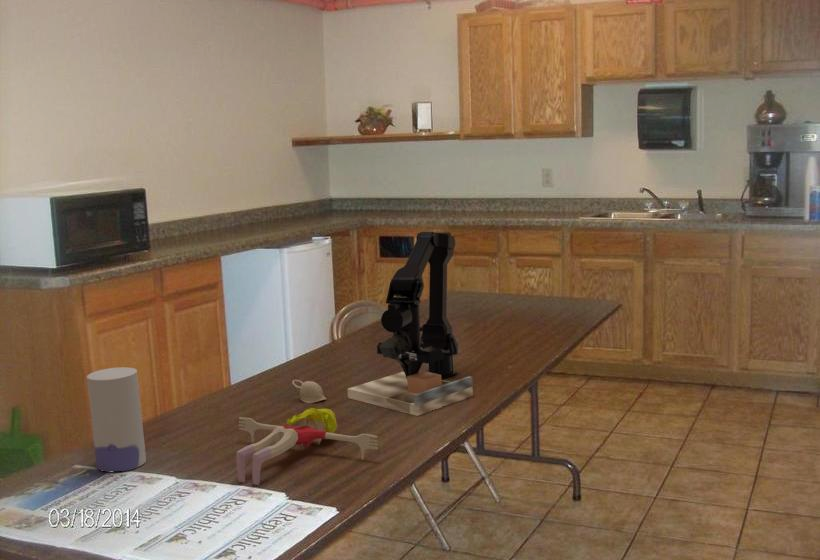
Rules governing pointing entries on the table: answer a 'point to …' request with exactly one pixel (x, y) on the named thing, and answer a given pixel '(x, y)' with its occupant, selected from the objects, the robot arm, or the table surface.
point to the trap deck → (410, 394)
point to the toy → (293, 438)
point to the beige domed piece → (310, 391)
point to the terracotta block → (423, 382)
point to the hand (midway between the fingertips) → (411, 384)
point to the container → (116, 419)
